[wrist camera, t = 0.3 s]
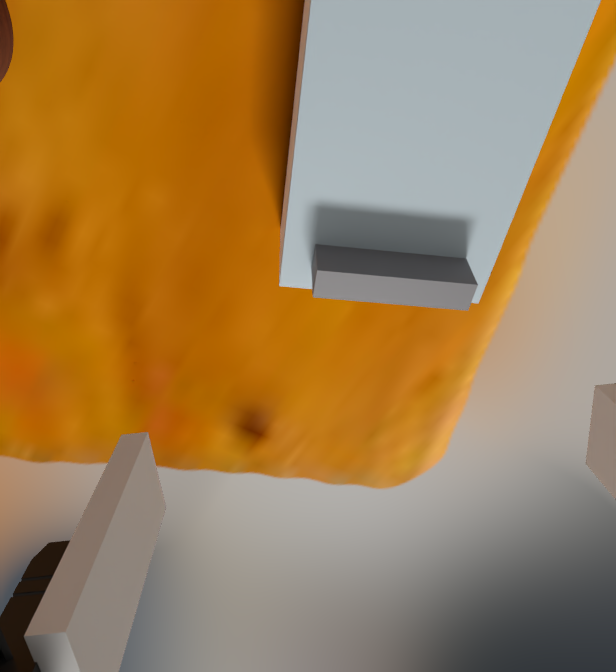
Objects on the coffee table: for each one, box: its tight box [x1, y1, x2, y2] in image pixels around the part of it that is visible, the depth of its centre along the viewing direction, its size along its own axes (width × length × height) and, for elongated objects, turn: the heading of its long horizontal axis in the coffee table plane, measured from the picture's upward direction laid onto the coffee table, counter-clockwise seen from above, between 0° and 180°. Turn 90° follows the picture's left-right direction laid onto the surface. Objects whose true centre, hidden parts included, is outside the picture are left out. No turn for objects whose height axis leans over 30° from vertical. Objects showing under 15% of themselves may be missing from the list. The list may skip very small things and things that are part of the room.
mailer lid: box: [279, 0, 601, 310], centre depth 31 cm, size 20×14×4 cm
